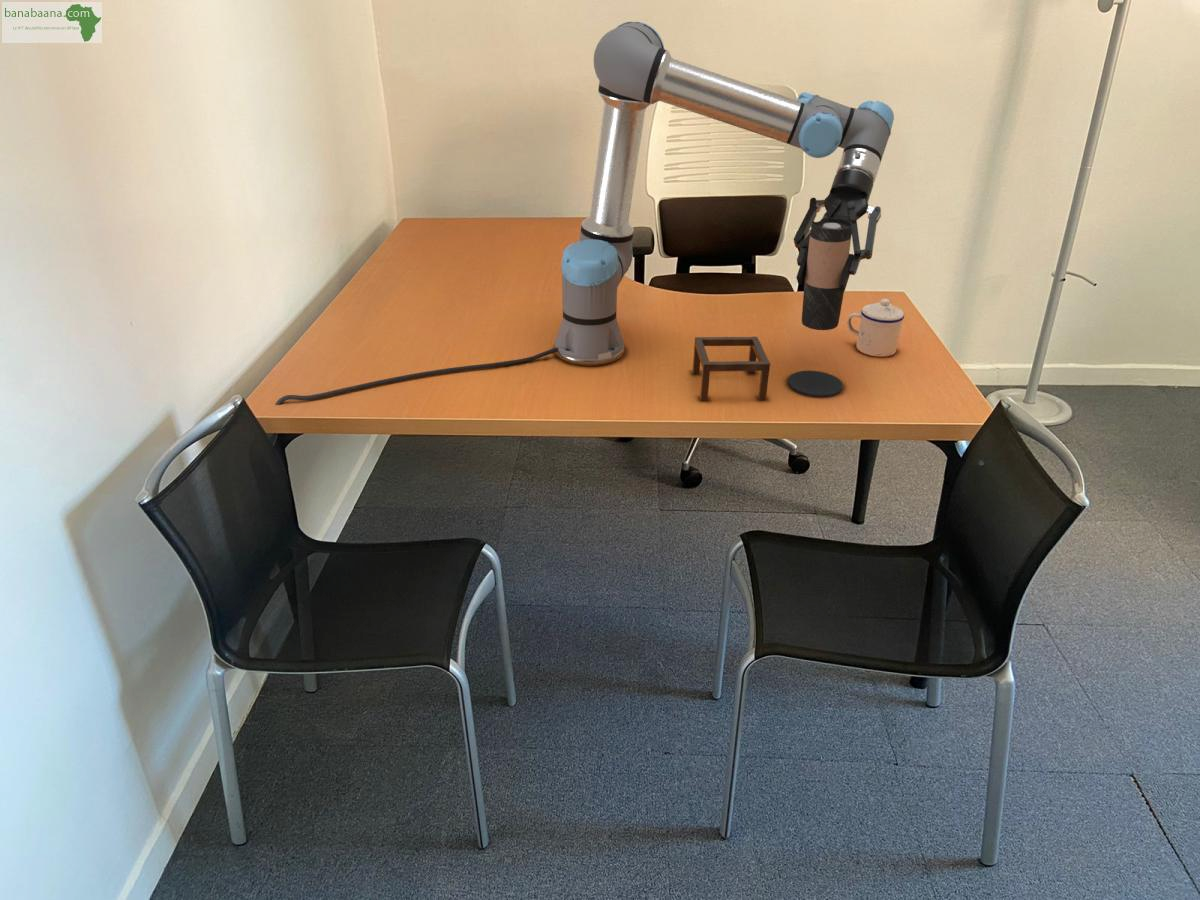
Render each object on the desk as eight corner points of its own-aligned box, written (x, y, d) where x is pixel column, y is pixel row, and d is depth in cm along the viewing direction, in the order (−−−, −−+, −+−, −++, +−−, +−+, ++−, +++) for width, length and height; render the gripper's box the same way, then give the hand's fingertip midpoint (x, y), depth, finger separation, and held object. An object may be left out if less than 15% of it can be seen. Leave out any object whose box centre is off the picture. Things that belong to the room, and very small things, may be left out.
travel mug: (840, 332, 167) (854, 230, 157) (799, 329, 169) (811, 228, 158) (839, 317, 174) (852, 218, 163) (800, 314, 175) (811, 216, 165)
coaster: (794, 397, 174) (794, 395, 173) (782, 373, 183) (782, 370, 183) (848, 397, 174) (849, 394, 174) (833, 372, 184) (834, 370, 183)
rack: (700, 400, 172) (703, 364, 168) (692, 371, 183) (694, 337, 179) (765, 400, 173) (770, 363, 168) (753, 371, 184) (757, 336, 180)
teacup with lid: (902, 347, 195) (912, 298, 189) (889, 361, 189) (899, 311, 183) (850, 334, 201) (859, 286, 195) (836, 348, 194) (844, 299, 188)
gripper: (801, 161, 169) (765, 266, 165) (908, 174, 160) (873, 284, 157) (805, 183, 175) (771, 284, 172) (908, 196, 167) (875, 302, 163)
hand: (820, 284), depth 164 cm, fingers closed on travel mug, 7 cm apart
